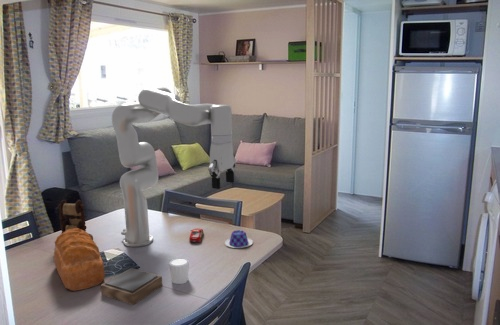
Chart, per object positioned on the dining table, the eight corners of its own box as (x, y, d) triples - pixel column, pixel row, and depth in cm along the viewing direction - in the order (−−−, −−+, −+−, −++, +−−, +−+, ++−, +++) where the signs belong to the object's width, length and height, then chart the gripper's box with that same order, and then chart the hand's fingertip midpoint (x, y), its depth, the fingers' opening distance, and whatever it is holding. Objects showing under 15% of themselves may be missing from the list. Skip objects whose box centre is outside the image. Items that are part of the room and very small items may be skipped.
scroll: (99, 238, 190) (95, 195, 186) (83, 252, 176) (78, 205, 171) (67, 237, 191) (62, 194, 187) (49, 251, 177) (43, 205, 173)
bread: (91, 257, 171) (87, 220, 168) (108, 283, 149) (104, 242, 146) (53, 265, 164) (48, 227, 161) (65, 295, 142) (60, 251, 139)
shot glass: (185, 285, 147) (185, 266, 145) (167, 284, 148) (166, 265, 147) (192, 276, 154) (191, 258, 152) (174, 274, 155) (173, 256, 153)
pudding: (243, 251, 175) (243, 239, 174) (219, 246, 180) (218, 234, 179) (257, 241, 185) (257, 230, 184) (234, 236, 191) (233, 225, 190)
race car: (192, 232, 196) (192, 224, 195) (204, 232, 196) (204, 224, 195) (187, 244, 183) (187, 235, 182) (200, 243, 183) (200, 235, 182)
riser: (101, 294, 142) (100, 283, 141) (131, 276, 154) (131, 266, 153) (133, 304, 135) (132, 293, 134) (162, 285, 147) (161, 274, 146)
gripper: (225, 135, 163) (226, 178, 167) (199, 142, 149) (201, 189, 152) (242, 136, 160) (243, 180, 164) (217, 143, 145) (219, 192, 149)
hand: (223, 185), depth 158 cm, fingers open, 9 cm apart
